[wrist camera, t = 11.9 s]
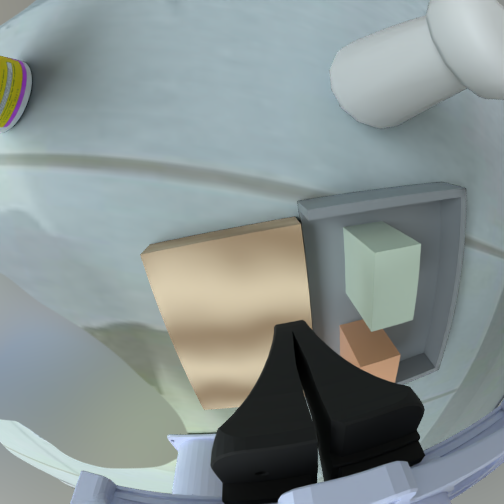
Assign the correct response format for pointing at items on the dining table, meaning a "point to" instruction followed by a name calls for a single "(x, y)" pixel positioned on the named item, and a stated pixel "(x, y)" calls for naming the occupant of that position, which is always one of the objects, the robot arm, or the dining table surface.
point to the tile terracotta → (369, 350)
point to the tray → (430, 271)
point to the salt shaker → (422, 62)
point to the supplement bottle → (13, 91)
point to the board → (229, 301)
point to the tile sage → (381, 273)
